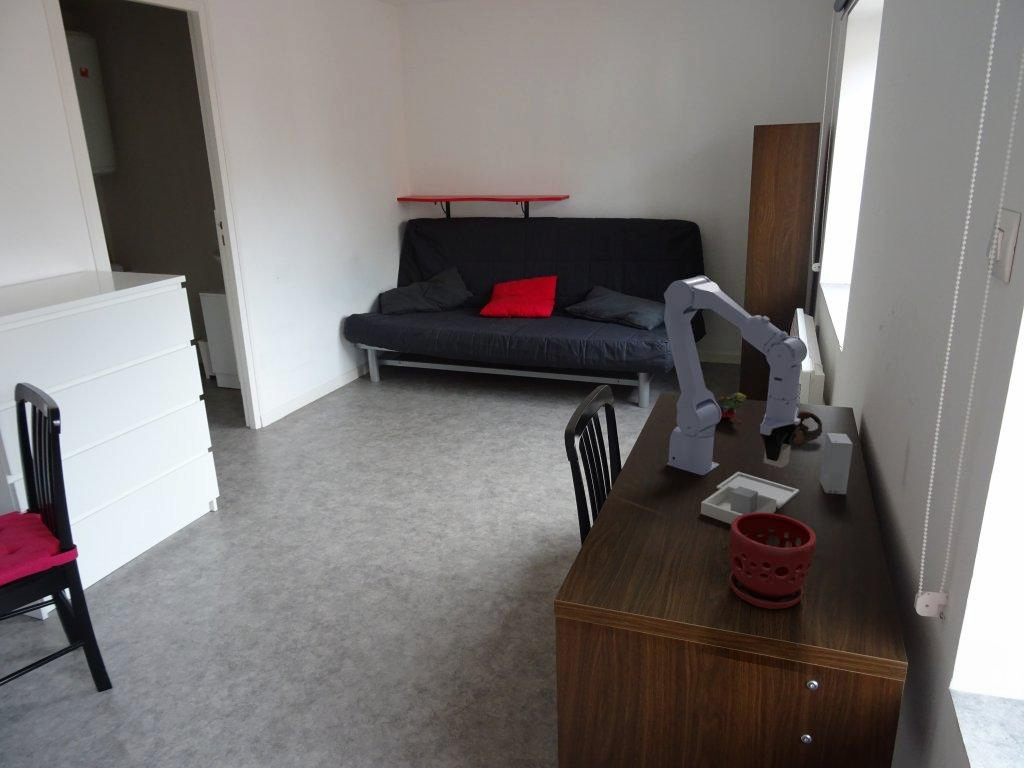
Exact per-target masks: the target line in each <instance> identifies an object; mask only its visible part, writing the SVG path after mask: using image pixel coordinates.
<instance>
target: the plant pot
mask: <svg viewBox="0 0 1024 768" xmlns="http://www.w3.org/2000/svg"><path fill="white" fill-rule="evenodd" d="M770 527H773V528H774V529H773V530H771V529H770ZM759 530H761V531H763V532H762V534H759V535H758V534H757V532H758V531H759ZM746 531H747V533H746V534H745V532H746ZM785 533H787V534H788V536H786V535H785ZM769 537H776V538H777V539H778V540H779V544H778V546H771V545H769V543H768V538H769ZM797 539H799V541H800V544H798V543H797ZM728 541H729V542H728V553H729V561H730V566H731V569H732V572H731V573H730V575H729V579H728V580H729V584H730V585H729V586H730V587H731V589H732V590H733V592H734V593H735V595H737V596H738V597H739V598H740V599H742V600H744V601H745V602H748V603H749V604H751V605H753V606H755V607H760V608H764V609H775V610H779V609H787V608H789V607H793V606H795V605H796V604H798V602H799V601H800V600H801V599H802V597H804V588H803V584H804V583H805V581H806V580H807V578H808V576H809V574H810V570H811V568H812V565H813V562H814V561H813V560H814V556H815V551H816V548H817V547H816V545H817V536H816V533H815V532H814V531H813V530H812V528H811V527H809V526H808V525H806V524H805V523H803V522H801V521H799V520H797V519H794V518H792V517H788V516H786V515H781V514H777V513H763V512H757V513H747V514H743V515H740V516H738V517H736V518H735V519H734V520H733V522H732V524H730V530H729V540H728ZM786 542H788V543H790V544H791V547H787V546H786V544H787V543H786Z"/></svg>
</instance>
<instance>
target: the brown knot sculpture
mask: <svg viewBox="0 0 1024 768" xmlns="http://www.w3.org/2000/svg"><path fill="white" fill-rule="evenodd" d="M796 418H799V419H801V421H800V423H799V427H798V429H797V430H796V431H795V433H794V435H795V438H794V439H793V443H794V444H796V445H798V446H800V445H801V444H802V443H808V442H811V441H815V440H818V437H820V436H821V435H822V433H823V422H822V420H821V419H820V418H819V416H817V414H815V413H812V412H809V411H804V410H801V411H800V410H799V414H798V417H796ZM809 419H811V420H813V421H814V422H815V423H816V424H817V428H815V429H814V430H809V428H810V427H809V425H806V424H804V423H803V422H804V421H805V420H809Z"/></svg>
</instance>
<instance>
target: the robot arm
mask: <svg viewBox="0 0 1024 768" xmlns="http://www.w3.org/2000/svg"><path fill="white" fill-rule="evenodd" d="M663 297H664V301H665V308H664V315H663V319H664V325H665V328H666V334H667V338H668V342H669V345H670V346H669V347H670V349H671V355H672V358H673V363H674V367H675V370H676V371H675V372H676V375H677V379H678V384H679V388H680V393H681V394H680V396H679V398H678V400H677V403H676V409H677V413H676V424H677V426H676V427H675V428H674V429H673V430H672V433H671V434H670V438H669V451H668V462H667V463H666V465H667V466H670V467H674V468H676V469H677V468H678V469H681V470H683V471H687V472H691V473H692V474H693V473H694V474H696V475H700V476H704V475H707V474H708V473H709V472H710V471H712V470H714V469H715V468H717V467H719V465H720V464H719V463H717V462H714V461H713V457H714V456H713V454H714V452H713V451H714V443H715V442H714V441H715V430H716V425H718V423H719V422H720V421H721V420H722V419H721V418H722V417H721V415H722V414H721V409H720V407H719V405H718V404H717V401H716V399H715V395H714V393H713V392H712V391H711V390H710V389H708V388H707V387H706V384H705V379H704V375H703V371H702V367H701V362H700V358H699V354H698V350H697V346H696V341H695V337H694V332H693V328H692V324H691V320H692V319H693V318H694V316H695V314H696V313H697V312H698V310H699V309H708V310H709V309H710V310H712V311H714V312H715V313H716V314H718V315H719V316H721V317H722V318H723V319H725V320H727V321H728V322H730V323H731V324H732V325H734V326H736V327H737V328H739V330H740V336H741V338H743V339H744V340H745V341H746V342H748V343H749V344H750V345H752V346H753V347H754V348H755V349H757V350H758V351H760V352H761V353H762V354H763V355H765V358H766V362H767V363H768V365H769V368H770V370H769V380H768V389H767V390H768V391H767V400H766V411H765V414H764V415H763V416H764V418H763V420H762V423H761V424H760V425H759V427H758V433H759V435H760V436H761V439H762V441H763V445H764V452H765V451H766V457H767V459H769V460H773V461H777V460H778V458H779V455H780V451H781V447H782V444H783V443H784V444H787V445H790V443H791V441H792V438H793V436H794V435H795V431H796V430H797V429H798V427H799V423H800V421H801V419H799V418H796V417H798V414H799V411H800V408H799V407H797V402H798V394H799V386H800V379H801V378H800V377H801V376H800V375H801V367H802V364H801V363H802V362H803V361H805V359H806V358H807V355H808V348H807V346H806V343H805V342H804V341H803V340H802V339H801V338H800V337H799V336H796V335H789V334H788V333H787V332H786V331H785V330H784V331H782V330H780V329H779V328H778V327H776V326H775V325H774V324H773V323H771V322H770V320H771V319H770V318H769V317H768V316H766V315H764V316H762V315H751V314H750V313H749V312H747V310H745V309H743V307H742V306H741V305H739V304H738V303H737V302H735V301H734V299H732V298H731V297H729V296H728V295H727V294H726V293H725V292H724V291H723V290H721V288H720V286H719V285H718V284H717V283H716V282H714V281H712V280H711V279H710V278H708V277H707V276H705V275H696V276H695V277H691V278H687V279H681V280H675V281H672V282H671V283H670V285H668V287H667V289H666V290H665V292H664V293H663Z"/></svg>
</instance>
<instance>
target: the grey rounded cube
mask: <svg viewBox="0 0 1024 768" xmlns="http://www.w3.org/2000/svg"><path fill="white" fill-rule="evenodd" d="M757 499H758V492H757V491H754V490H750V489H747V488H744V487H740V486H739V487H738V488H736V489H735V490H734V491H732V496H731V508H730V510H733V511H736V512H739V513H742V514H747V513H753V512H754V511H755V510H756V509H757Z"/></svg>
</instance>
